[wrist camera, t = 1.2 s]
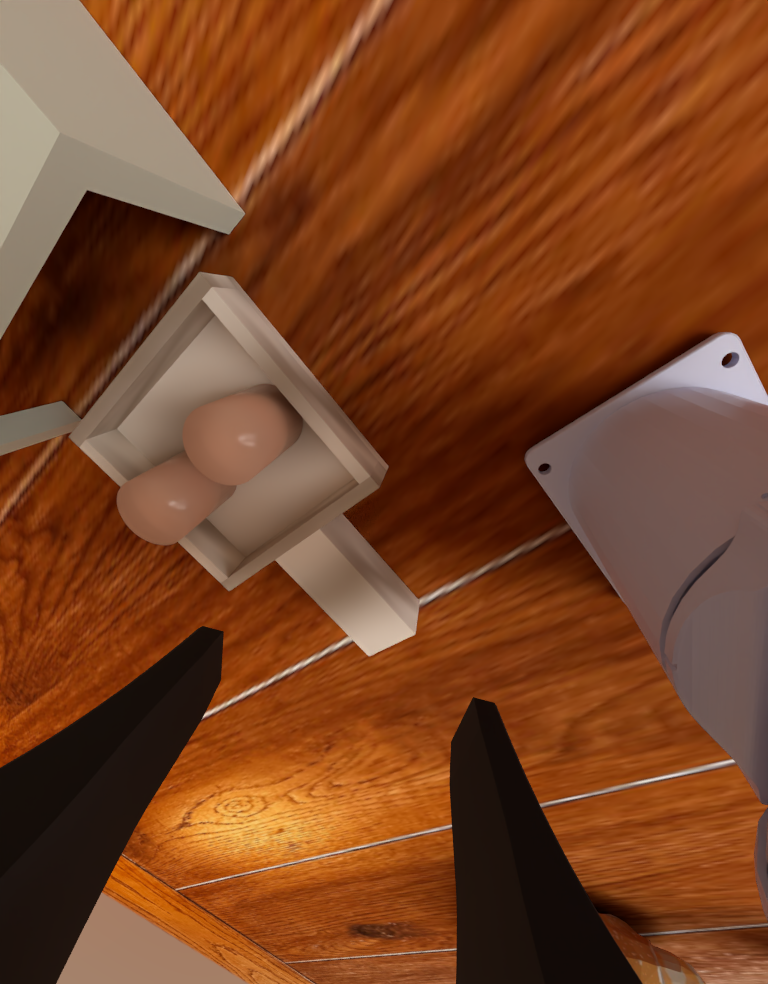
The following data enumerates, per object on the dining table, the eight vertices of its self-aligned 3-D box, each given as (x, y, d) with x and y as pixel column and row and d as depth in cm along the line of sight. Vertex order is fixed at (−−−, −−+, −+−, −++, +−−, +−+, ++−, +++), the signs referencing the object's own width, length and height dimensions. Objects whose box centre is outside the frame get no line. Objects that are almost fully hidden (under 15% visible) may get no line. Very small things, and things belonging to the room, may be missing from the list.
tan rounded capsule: (316, 425, 17) (279, 456, 14) (271, 462, 18) (226, 499, 15) (269, 368, 16) (217, 386, 13) (226, 411, 18) (167, 437, 14)
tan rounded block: (249, 481, 19) (201, 521, 15) (212, 512, 20) (160, 556, 17) (203, 433, 18) (142, 464, 15) (168, 468, 19) (103, 504, 16)
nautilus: (405, 848, 34) (560, 793, 28) (553, 980, 37) (716, 953, 32) (391, 988, 26) (597, 949, 21) (578, 1137, 30) (795, 1135, 24)
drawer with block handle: (475, 572, 20) (477, 604, 18) (333, 645, 24) (320, 679, 21) (234, 277, 16) (199, 271, 14) (110, 423, 20) (68, 436, 17)
